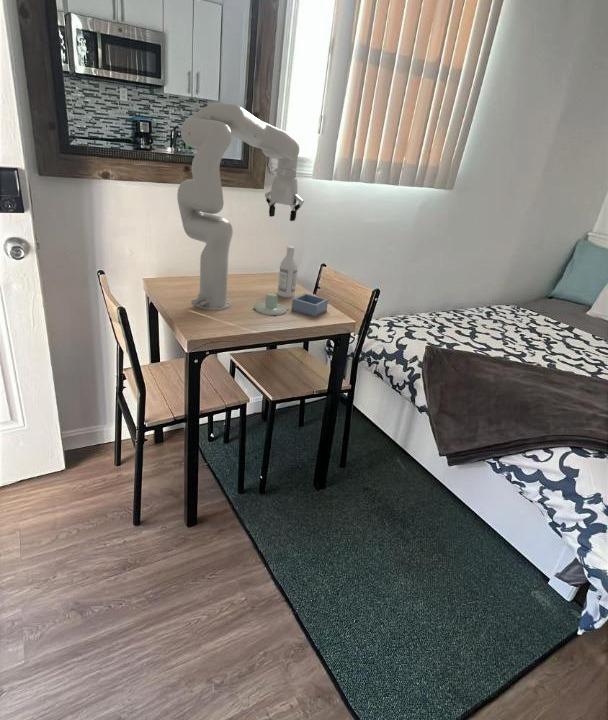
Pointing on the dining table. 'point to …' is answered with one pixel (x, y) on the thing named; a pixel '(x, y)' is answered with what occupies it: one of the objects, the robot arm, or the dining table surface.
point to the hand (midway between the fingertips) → (281, 218)
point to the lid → (270, 306)
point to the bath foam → (288, 274)
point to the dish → (309, 305)
